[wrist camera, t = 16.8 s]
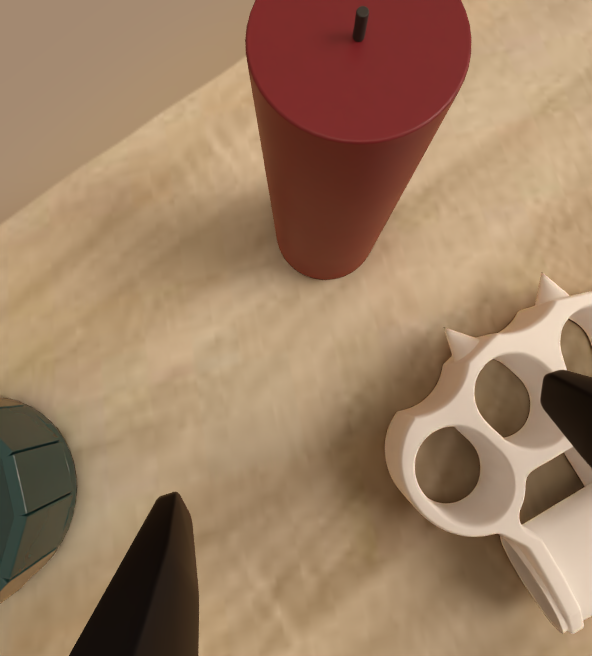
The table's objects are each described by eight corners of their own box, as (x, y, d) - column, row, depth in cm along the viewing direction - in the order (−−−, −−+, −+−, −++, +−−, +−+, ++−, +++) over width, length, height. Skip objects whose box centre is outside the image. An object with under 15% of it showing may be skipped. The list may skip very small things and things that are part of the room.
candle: (393, 241, 22) (537, 30, 9) (315, 299, 22) (340, 172, 8) (333, 168, 23) (382, -134, 9) (257, 223, 23) (192, -9, 9)
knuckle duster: (482, 641, 20) (338, 383, 21) (773, 463, 21) (613, 229, 22) (519, 695, 16) (345, 384, 18) (864, 479, 17) (667, 203, 19)
